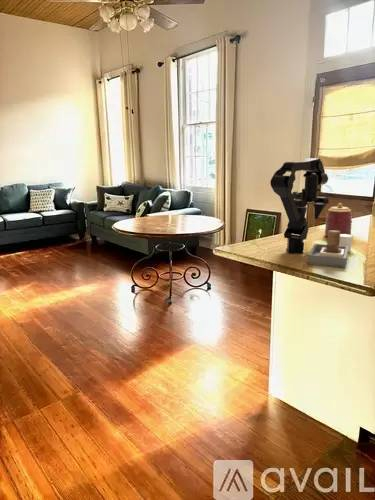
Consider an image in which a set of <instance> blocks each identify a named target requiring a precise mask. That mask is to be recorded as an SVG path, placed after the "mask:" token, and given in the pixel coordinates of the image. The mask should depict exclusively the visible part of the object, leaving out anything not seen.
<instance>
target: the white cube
mask: <svg viewBox="0 0 375 500" xmlns="http://www.w3.org/2000/svg"><path fill="white" fill-rule="evenodd" d="M353 240H354V235H353V234H351V235H350V234H340V242H339V246H348V252H351V251H352V245H353Z"/></svg>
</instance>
